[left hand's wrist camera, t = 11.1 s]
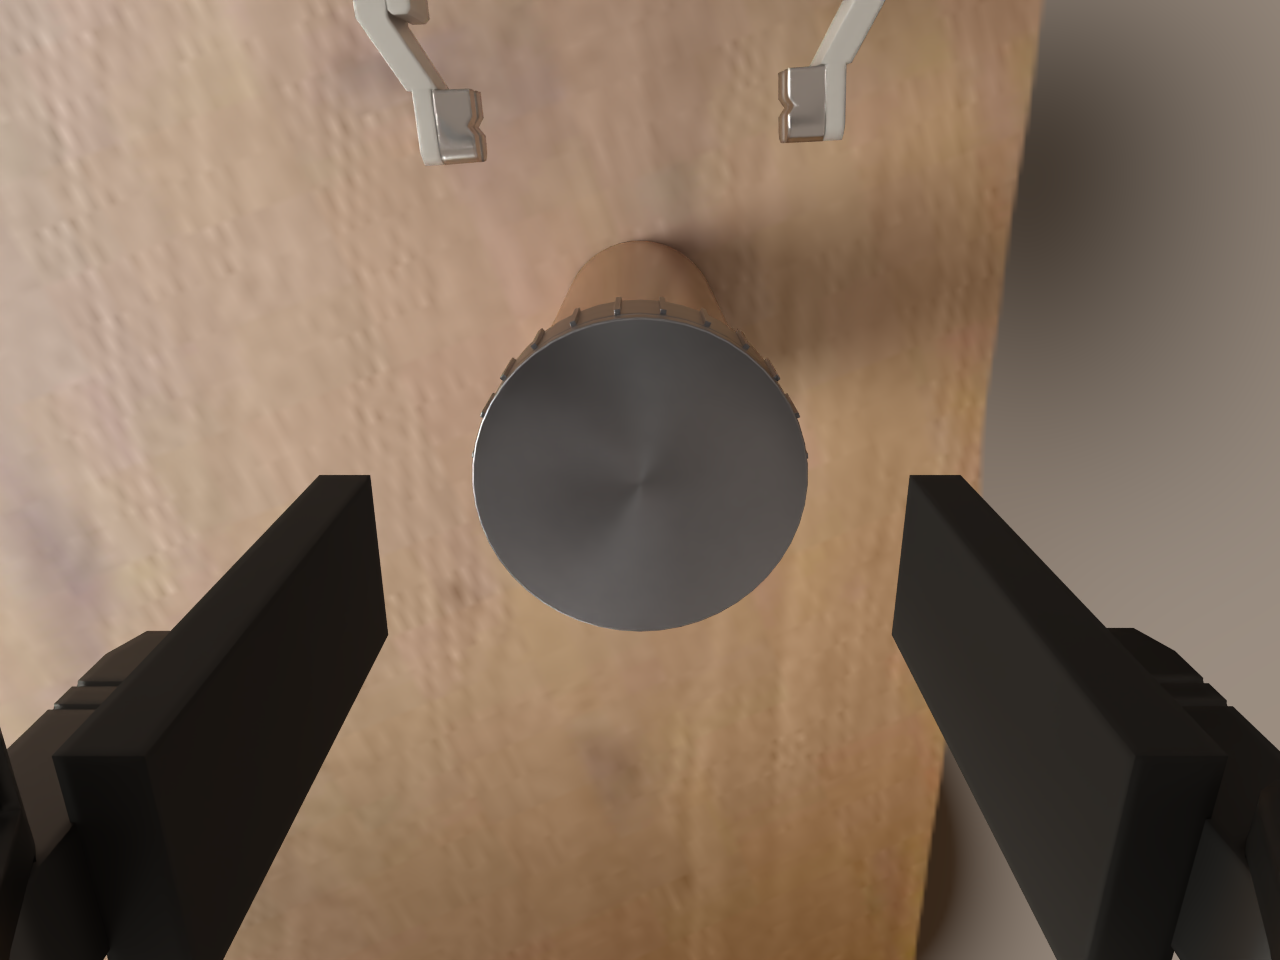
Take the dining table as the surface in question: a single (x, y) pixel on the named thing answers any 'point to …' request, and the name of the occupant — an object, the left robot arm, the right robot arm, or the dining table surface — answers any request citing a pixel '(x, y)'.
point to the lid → (640, 466)
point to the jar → (640, 279)
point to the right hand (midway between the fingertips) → (632, 153)
